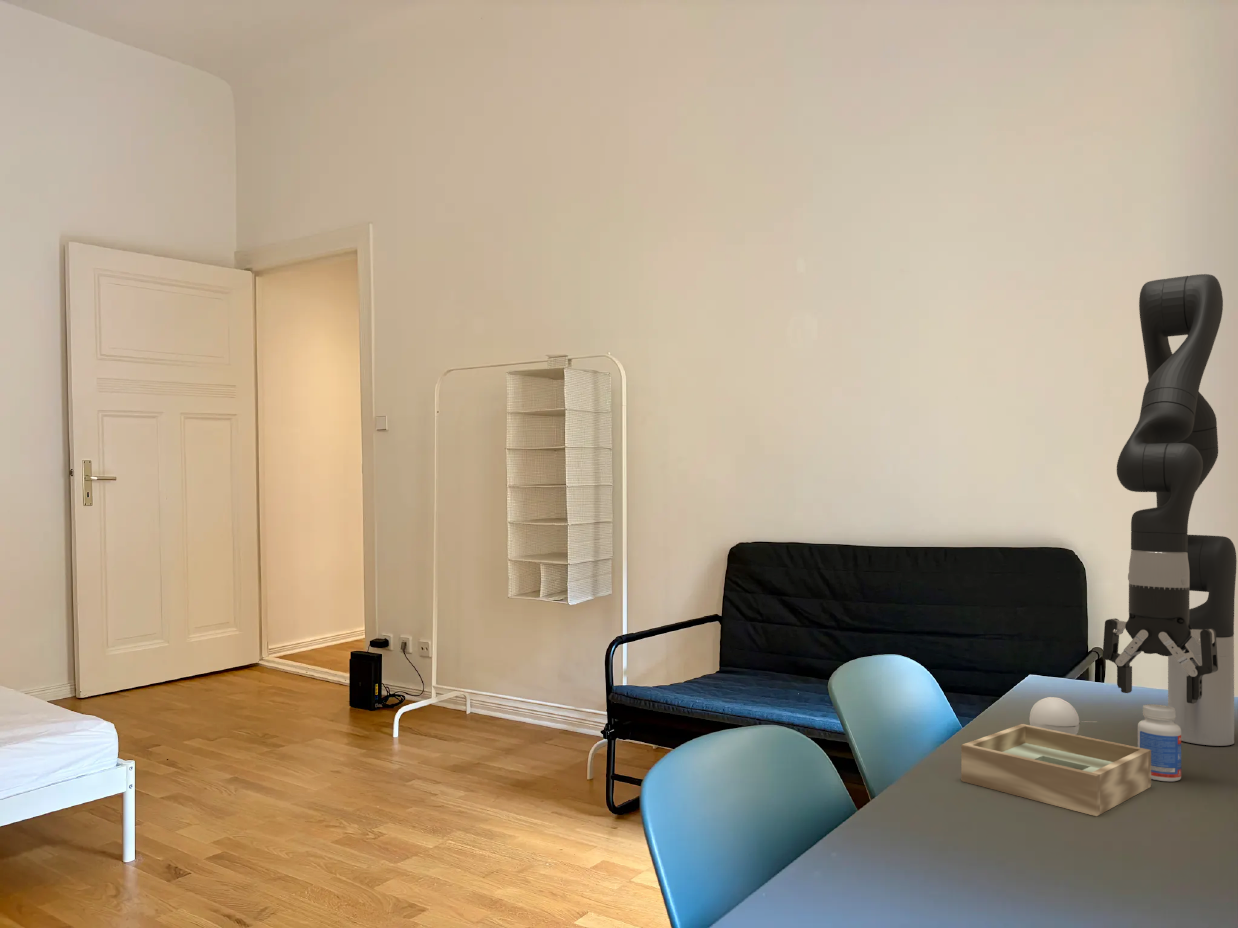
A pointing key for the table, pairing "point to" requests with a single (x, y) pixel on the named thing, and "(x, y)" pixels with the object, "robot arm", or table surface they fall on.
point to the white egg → (1055, 715)
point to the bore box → (1057, 768)
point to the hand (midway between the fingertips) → (1158, 697)
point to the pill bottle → (1161, 741)
